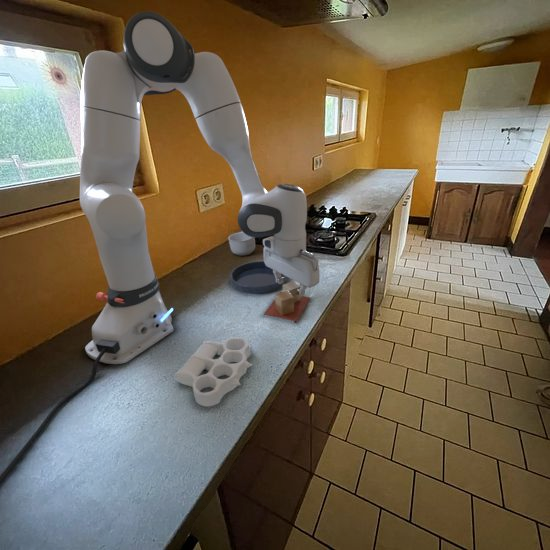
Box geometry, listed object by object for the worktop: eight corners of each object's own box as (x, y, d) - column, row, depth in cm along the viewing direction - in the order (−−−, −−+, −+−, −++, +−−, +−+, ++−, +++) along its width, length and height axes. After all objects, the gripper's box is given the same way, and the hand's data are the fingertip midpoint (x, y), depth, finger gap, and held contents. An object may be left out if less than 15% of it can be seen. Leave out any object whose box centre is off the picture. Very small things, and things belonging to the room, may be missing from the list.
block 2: (281, 315, 85) (281, 300, 83) (275, 308, 89) (274, 294, 86) (294, 311, 87) (294, 297, 84) (287, 305, 90) (287, 290, 88)
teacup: (251, 259, 122) (250, 240, 118) (226, 258, 124) (224, 239, 120) (260, 246, 134) (259, 229, 130) (236, 245, 136) (235, 228, 132)
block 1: (289, 304, 90) (289, 290, 88) (282, 298, 93) (282, 284, 91) (300, 300, 92) (300, 286, 89) (293, 295, 95) (293, 281, 93)
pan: (273, 299, 94) (272, 291, 93) (220, 289, 101) (219, 281, 100) (294, 272, 110) (294, 265, 108) (246, 265, 117) (246, 258, 115)
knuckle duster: (211, 340, 78) (264, 353, 73) (166, 394, 63) (227, 414, 58) (210, 330, 76) (263, 342, 71) (162, 382, 61) (225, 402, 56)
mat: (296, 322, 83) (296, 321, 83) (263, 315, 87) (263, 313, 86) (310, 299, 94) (310, 297, 93) (280, 293, 97) (280, 291, 97)
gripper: (326, 252, 78) (323, 298, 84) (275, 233, 92) (276, 274, 98) (309, 259, 74) (307, 306, 81) (259, 238, 88) (260, 280, 95)
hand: (289, 288), depth 90 cm, fingers open, 8 cm apart
